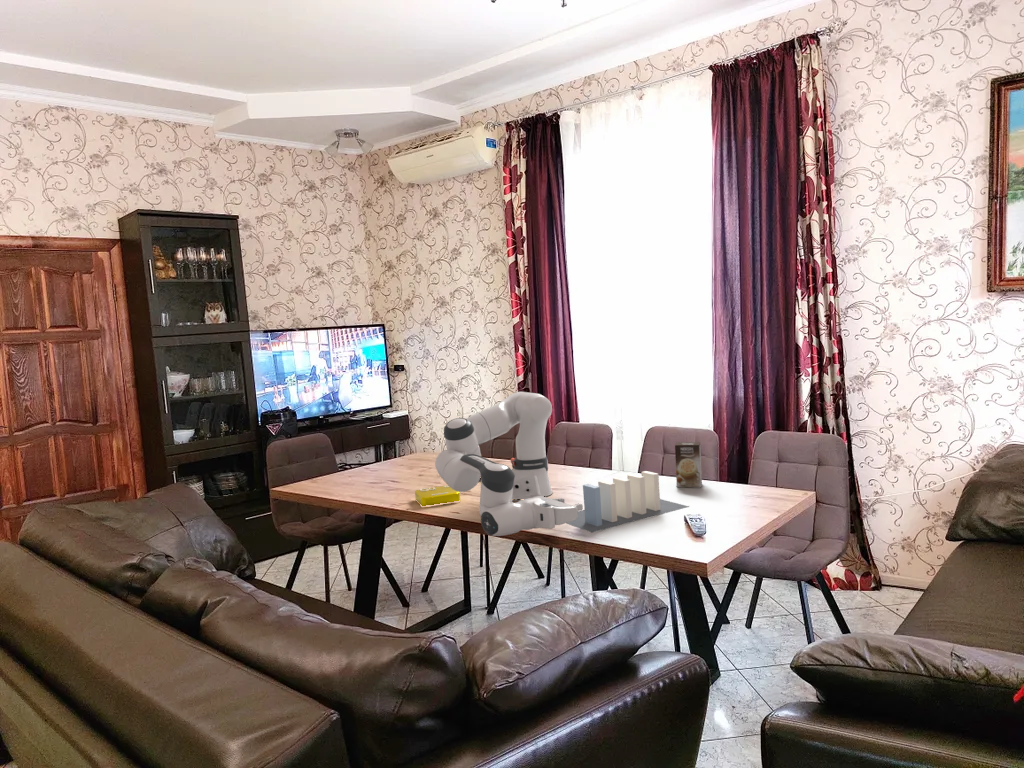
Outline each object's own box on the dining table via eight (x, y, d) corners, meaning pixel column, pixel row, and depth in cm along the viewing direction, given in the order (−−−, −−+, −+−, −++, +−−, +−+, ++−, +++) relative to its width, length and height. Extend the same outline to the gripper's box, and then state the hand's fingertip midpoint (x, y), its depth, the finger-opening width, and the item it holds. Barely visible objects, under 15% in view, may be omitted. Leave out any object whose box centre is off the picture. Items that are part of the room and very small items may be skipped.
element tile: (422, 509, 257) (421, 496, 256) (414, 501, 271) (413, 488, 270) (461, 503, 261) (460, 490, 261) (452, 495, 276) (451, 483, 275)
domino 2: (627, 518, 221) (624, 481, 220) (615, 514, 226) (612, 478, 225) (632, 517, 222) (629, 480, 221) (620, 513, 227) (617, 477, 226)
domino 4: (655, 510, 227) (653, 474, 226) (643, 507, 232) (641, 472, 231) (660, 509, 228) (658, 473, 227) (648, 506, 233) (645, 470, 232)
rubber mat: (592, 535, 209) (591, 532, 209) (551, 520, 228) (551, 517, 228) (689, 509, 229) (689, 506, 229) (644, 497, 248) (644, 495, 248)
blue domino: (597, 526, 215) (594, 488, 214) (585, 522, 220) (582, 485, 219) (602, 524, 216) (599, 486, 215) (590, 521, 221) (587, 483, 220)
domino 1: (612, 522, 218) (609, 484, 217) (600, 518, 223) (598, 481, 222) (617, 520, 219) (614, 483, 218) (605, 517, 224) (603, 480, 223)
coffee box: (676, 487, 259) (673, 445, 258) (677, 483, 265) (675, 441, 264) (701, 487, 256) (699, 444, 255) (702, 483, 262) (700, 441, 261)
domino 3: (641, 514, 224) (639, 477, 223) (629, 510, 229) (627, 475, 228) (646, 513, 225) (644, 476, 224) (634, 509, 230) (632, 474, 229)
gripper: (516, 516, 215) (553, 507, 222) (553, 530, 198) (592, 520, 205) (515, 496, 215) (552, 488, 222) (552, 508, 197) (591, 499, 204)
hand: (572, 503), depth 213 cm, fingers open, 8 cm apart
